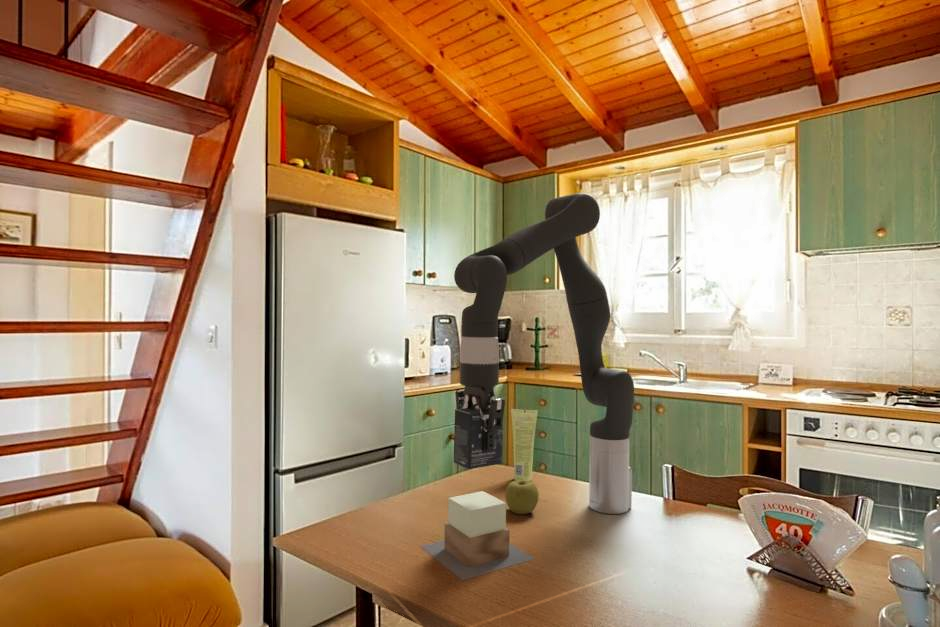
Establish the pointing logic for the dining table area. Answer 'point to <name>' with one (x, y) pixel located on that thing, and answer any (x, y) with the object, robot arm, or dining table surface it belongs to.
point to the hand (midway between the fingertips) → (478, 447)
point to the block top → (476, 514)
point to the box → (474, 441)
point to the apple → (521, 496)
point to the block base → (476, 546)
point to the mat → (467, 572)
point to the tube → (523, 442)
